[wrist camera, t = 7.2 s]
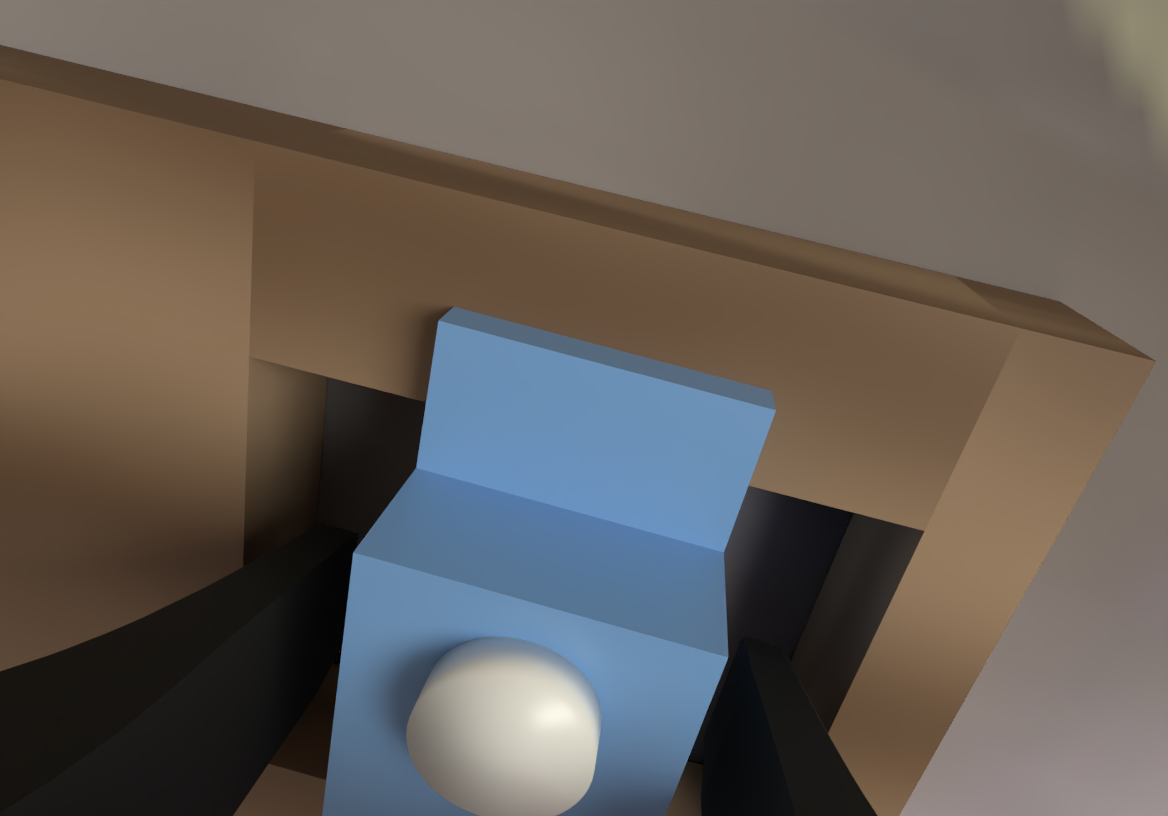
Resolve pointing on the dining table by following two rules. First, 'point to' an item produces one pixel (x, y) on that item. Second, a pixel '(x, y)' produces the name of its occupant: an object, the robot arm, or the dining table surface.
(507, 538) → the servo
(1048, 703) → the dining table surface
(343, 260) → the plate
